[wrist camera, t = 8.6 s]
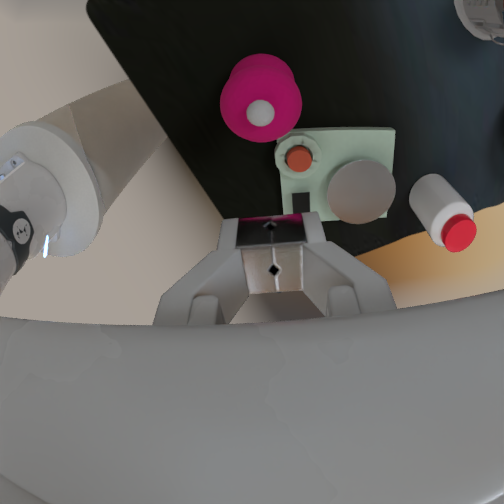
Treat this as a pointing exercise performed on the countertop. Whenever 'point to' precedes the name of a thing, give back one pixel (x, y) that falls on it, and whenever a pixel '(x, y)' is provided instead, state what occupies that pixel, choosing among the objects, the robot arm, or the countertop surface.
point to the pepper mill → (261, 99)
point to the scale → (329, 160)
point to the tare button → (299, 159)
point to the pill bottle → (443, 212)
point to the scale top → (355, 192)
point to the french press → (482, 17)
